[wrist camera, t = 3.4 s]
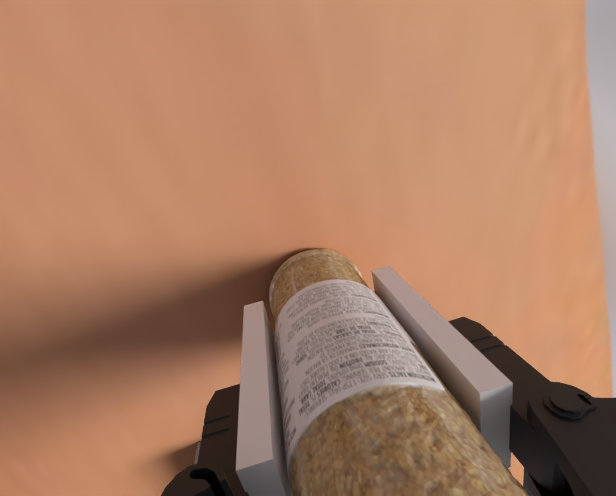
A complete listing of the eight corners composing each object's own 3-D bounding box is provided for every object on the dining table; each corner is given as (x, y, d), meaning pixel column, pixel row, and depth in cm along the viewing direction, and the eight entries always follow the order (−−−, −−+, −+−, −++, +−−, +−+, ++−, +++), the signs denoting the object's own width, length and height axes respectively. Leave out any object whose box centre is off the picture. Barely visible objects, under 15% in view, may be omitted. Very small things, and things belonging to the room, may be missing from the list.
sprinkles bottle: (354, 330, 16) (705, 999, 4) (264, 332, 15) (318, 1205, 3) (367, 245, 15) (1031, 878, 2) (268, 242, 14) (416, 1240, 1)
